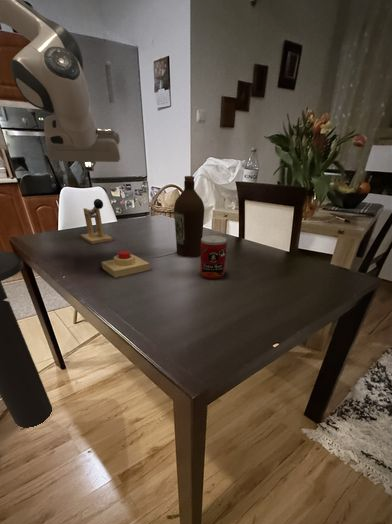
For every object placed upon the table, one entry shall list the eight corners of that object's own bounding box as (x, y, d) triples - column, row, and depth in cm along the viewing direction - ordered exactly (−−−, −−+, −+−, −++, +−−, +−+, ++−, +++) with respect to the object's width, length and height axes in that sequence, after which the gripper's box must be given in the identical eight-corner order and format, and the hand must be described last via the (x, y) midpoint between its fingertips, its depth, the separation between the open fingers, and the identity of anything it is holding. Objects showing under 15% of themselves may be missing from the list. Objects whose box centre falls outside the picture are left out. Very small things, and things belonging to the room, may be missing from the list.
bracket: (112, 240, 119) (107, 210, 112) (91, 244, 114) (85, 212, 108) (101, 234, 127) (96, 205, 120) (81, 237, 122) (75, 207, 115)
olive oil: (194, 247, 113) (195, 174, 98) (208, 255, 105) (211, 177, 91) (170, 251, 109) (167, 175, 94) (182, 259, 101) (181, 178, 86)
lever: (105, 206, 106) (102, 197, 105) (96, 207, 104) (93, 197, 104) (96, 218, 117) (93, 210, 116) (88, 219, 115) (85, 211, 115)
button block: (115, 277, 86) (113, 265, 84) (102, 268, 92) (100, 256, 90) (149, 269, 92) (148, 257, 90) (135, 261, 98) (134, 249, 96)
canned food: (199, 279, 86) (200, 242, 80) (200, 269, 93) (201, 234, 86) (224, 280, 86) (227, 243, 80) (223, 270, 93) (226, 235, 86)
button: (121, 260, 88) (121, 255, 87) (116, 257, 90) (116, 252, 89) (132, 258, 90) (131, 253, 89) (127, 255, 92) (126, 250, 91)
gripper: (117, 120, 78) (121, 160, 92) (37, 117, 74) (54, 160, 88) (119, 139, 77) (123, 178, 91) (39, 137, 73) (56, 178, 87)
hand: (89, 169), depth 89 cm, fingers closed
